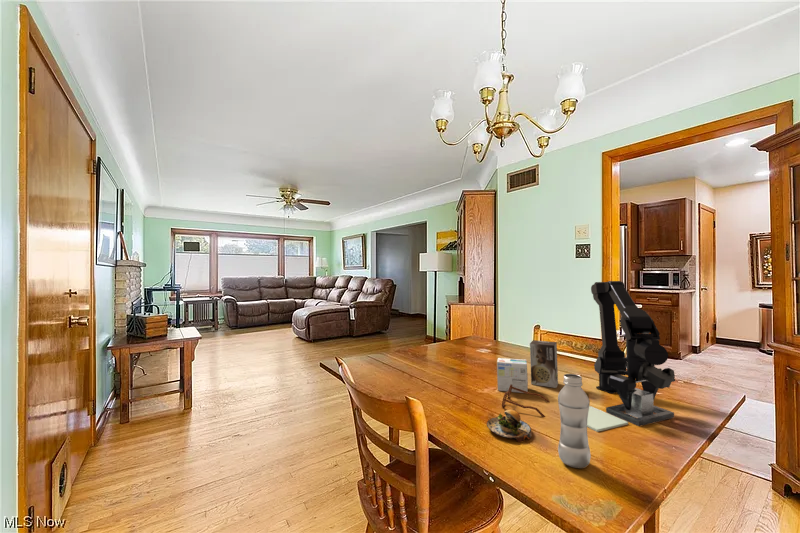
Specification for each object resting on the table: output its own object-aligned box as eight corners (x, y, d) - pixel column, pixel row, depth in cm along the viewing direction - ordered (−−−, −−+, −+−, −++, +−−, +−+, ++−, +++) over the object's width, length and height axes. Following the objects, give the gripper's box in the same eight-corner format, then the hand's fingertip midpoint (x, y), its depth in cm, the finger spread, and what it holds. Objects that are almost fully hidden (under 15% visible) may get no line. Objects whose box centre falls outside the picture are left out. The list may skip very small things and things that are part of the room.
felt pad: (561, 414, 101) (561, 412, 101) (591, 408, 105) (591, 406, 105) (597, 431, 90) (597, 429, 90) (628, 424, 94) (628, 422, 94)
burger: (482, 422, 97) (482, 397, 97) (523, 422, 97) (522, 396, 97) (492, 443, 85) (492, 414, 85) (538, 443, 85) (538, 414, 85)
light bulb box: (527, 387, 124) (526, 359, 124) (528, 394, 118) (527, 363, 118) (498, 384, 128) (497, 357, 128) (497, 391, 121) (496, 361, 121)
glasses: (509, 396, 117) (509, 382, 117) (549, 403, 111) (549, 388, 111) (501, 410, 106) (500, 394, 106) (545, 418, 99) (544, 401, 99)
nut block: (625, 413, 101) (624, 390, 101) (636, 410, 103) (636, 388, 103) (642, 419, 97) (641, 396, 97) (653, 417, 98) (653, 393, 98)
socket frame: (606, 412, 102) (605, 407, 102) (639, 404, 107) (639, 400, 107) (639, 426, 93) (638, 421, 93) (674, 417, 98) (674, 412, 98)
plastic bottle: (552, 456, 78) (550, 372, 78) (579, 455, 79) (577, 371, 79) (568, 473, 72) (566, 381, 72) (598, 471, 72) (595, 380, 73)
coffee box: (558, 383, 128) (557, 341, 128) (556, 388, 123) (555, 345, 123) (533, 379, 133) (532, 339, 133) (530, 384, 128) (529, 342, 128)
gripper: (644, 366, 89) (645, 424, 89) (688, 359, 96) (689, 413, 95) (606, 356, 100) (607, 408, 100) (648, 350, 106) (649, 399, 106)
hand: (639, 407), depth 100 cm, fingers open, 9 cm apart
